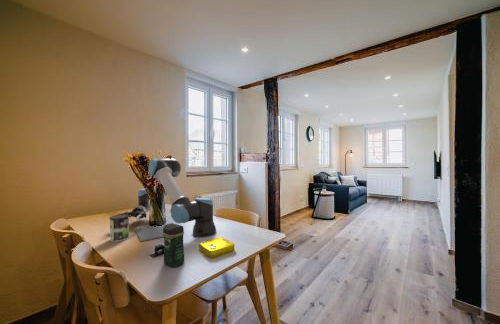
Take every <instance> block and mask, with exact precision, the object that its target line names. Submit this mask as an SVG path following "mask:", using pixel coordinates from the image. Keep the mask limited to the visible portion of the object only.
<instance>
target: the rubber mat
mask: <svg viewBox="0 0 500 324" xmlns="http://www.w3.org/2000/svg"><path fill="white" fill-rule="evenodd" d="M163 224H164V225H162V224H161V225H162V226H157V225H152V226H146V227H140V228H139V227H138V228H135V229H134V230H135V231H134V232H135V233H136V234H137V236H138V239H139V240H140V242H141V243H143V242H146V241H147V242H148V241H152V240H157V239H161V238H162V239H164V236H163V227H164V226H165V225H166V224H167V223H163ZM154 226H156V227H154Z"/></svg>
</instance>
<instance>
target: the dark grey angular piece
mask: <svg viewBox="0 0 500 324" xmlns="http://www.w3.org/2000/svg"><path fill="white" fill-rule="evenodd" d="M153 250H154V252H153V253H150V254H148V256H149V257H150V258H153V259H154V258H158V257H160V256H164V244H162V243H161V244H158V245H155V246H154V249H153Z"/></svg>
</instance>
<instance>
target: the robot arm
mask: <svg viewBox="0 0 500 324" xmlns="http://www.w3.org/2000/svg"><path fill="white" fill-rule="evenodd" d="M170 158H171V157H170ZM170 158H167V157H166V158H159V157H158V158H157V157H156V158H151V159H150V160H149V163H148V174H149V176H154V177H155V179H156V180H158V181H160V183H161V184H162V185H163V187H164V189H165V191H166V192H165V198H166V197H168V199H169V200H170V202H171V207H170V210H169V211H170V217H171V219H172V220H173V221H174V222H175V224H176V223H177V224H186V223H188V222H191V221H194V225H193V229H192V235H193V236H195V237H197V238H205V237H209V236H213V235H215V234H217V228H216V225H215V222H214V203H213V202H214V201H213V199H212V198H209V197H195V198H194V200H193V201H191V200H190V198H189V197H187V196H185V195H184V193H183V191H182V189H181V188H180V186H179V184H178V182H177V181H176V178H177V177H178V176H179V175H180V173H181V171H182V166H181V163H180V162H179V161H178V160H177V159H176V158H174V157H173V158H171V159H170ZM172 174H173V176H172ZM145 189H146V188H140V189H138V192H137V198H138V199H137V200H138V203H137V205H138V206H136V207H134V208H133V209H132V210H131V211H129V212H128V211H125V212H122V213H119V214H117V215H122V214H126V215H129V218H136V222H138V221H140V220H141V219H143V218H145V219H146V218H147V212H149V211H150V209H151V205H150V202H149V201H150V198H149V196H148V194H147V192H146V190H145ZM149 208H150V209H149Z"/></svg>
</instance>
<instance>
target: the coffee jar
mask: <svg viewBox="0 0 500 324" xmlns="http://www.w3.org/2000/svg"><path fill="white" fill-rule="evenodd" d="M165 224H166V225H165V226H164V227H163V236H164V237H163V245H164V254H163V263H164V265H165V266H167V267H169V268H176V267H180V266H182V264H184V263H185V249H184V248H185V247H184V235H185V231H184V226H183V225H179V224H178V223H177V224H176V223H173V222H171V223H165Z"/></svg>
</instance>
